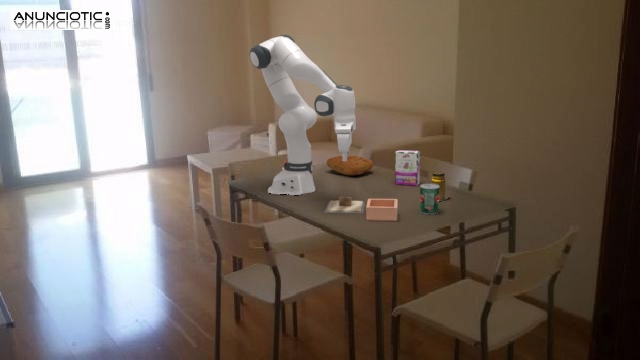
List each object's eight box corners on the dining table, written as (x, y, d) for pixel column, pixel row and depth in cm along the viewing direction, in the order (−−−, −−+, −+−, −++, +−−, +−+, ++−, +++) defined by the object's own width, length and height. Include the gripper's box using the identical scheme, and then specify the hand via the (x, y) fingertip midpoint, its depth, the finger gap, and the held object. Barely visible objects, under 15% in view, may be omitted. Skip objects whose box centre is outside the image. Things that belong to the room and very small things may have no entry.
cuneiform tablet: (324, 172, 318) (323, 157, 316) (347, 166, 329) (346, 152, 327) (354, 179, 302) (353, 164, 300) (377, 173, 314) (377, 158, 312)
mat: (324, 213, 249) (324, 212, 249) (329, 202, 264) (329, 201, 264) (362, 214, 247) (362, 213, 246) (365, 203, 262) (365, 202, 262)
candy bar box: (419, 183, 291) (420, 150, 287) (417, 186, 287) (418, 152, 282) (397, 182, 295) (397, 149, 291) (394, 184, 291) (394, 151, 287)
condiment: (427, 199, 265) (427, 173, 262) (436, 195, 271) (437, 169, 268) (441, 202, 261) (442, 175, 258) (451, 198, 267) (452, 171, 264)
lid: (326, 211, 249) (326, 201, 248) (331, 202, 263) (330, 192, 262) (360, 212, 247) (360, 202, 246) (363, 202, 261) (362, 193, 260)
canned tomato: (442, 213, 246) (443, 187, 243) (424, 215, 244) (425, 189, 241) (433, 207, 253) (434, 182, 250) (416, 209, 251) (416, 184, 248)
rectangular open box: (366, 221, 238) (366, 207, 236) (368, 212, 249) (368, 198, 248) (396, 222, 236) (397, 207, 234) (397, 213, 247) (397, 199, 246)
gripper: (339, 121, 257) (340, 153, 261) (334, 129, 237) (335, 163, 241) (354, 121, 256) (355, 153, 260) (350, 129, 237) (351, 163, 240)
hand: (345, 158), depth 250 cm, fingers open, 8 cm apart
